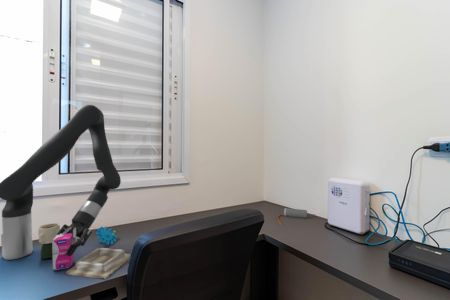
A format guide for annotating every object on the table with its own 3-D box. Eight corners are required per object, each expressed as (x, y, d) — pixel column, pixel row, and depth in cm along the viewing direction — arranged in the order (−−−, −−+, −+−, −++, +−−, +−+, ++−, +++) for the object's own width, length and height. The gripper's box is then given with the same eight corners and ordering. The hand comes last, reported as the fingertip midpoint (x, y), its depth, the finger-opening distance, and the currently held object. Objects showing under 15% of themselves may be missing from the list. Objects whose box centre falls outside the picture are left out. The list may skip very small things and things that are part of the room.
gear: (105, 245, 103) (93, 227, 105) (96, 254, 103) (85, 236, 106) (122, 239, 113) (111, 223, 116) (114, 247, 114) (104, 231, 117)
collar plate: (66, 274, 83) (65, 264, 83) (98, 253, 99) (98, 245, 99) (105, 279, 80) (105, 269, 80) (132, 256, 96) (132, 248, 96)
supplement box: (52, 271, 84) (51, 240, 84) (56, 263, 90) (55, 234, 89) (71, 268, 87) (70, 237, 86) (74, 260, 92) (73, 232, 92)
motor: (279, 213, 153) (279, 206, 152) (315, 217, 145) (315, 209, 144) (273, 231, 132) (273, 223, 131) (315, 236, 124) (315, 228, 123)
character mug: (50, 250, 102) (49, 221, 101) (67, 250, 102) (66, 221, 102) (30, 263, 91) (29, 230, 91) (49, 263, 91) (48, 230, 91)
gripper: (69, 208, 97) (39, 246, 87) (93, 211, 92) (65, 253, 82) (81, 216, 102) (54, 254, 92) (105, 220, 97) (80, 260, 87)
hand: (60, 253), depth 87 cm, fingers closed on supplement box, 8 cm apart
